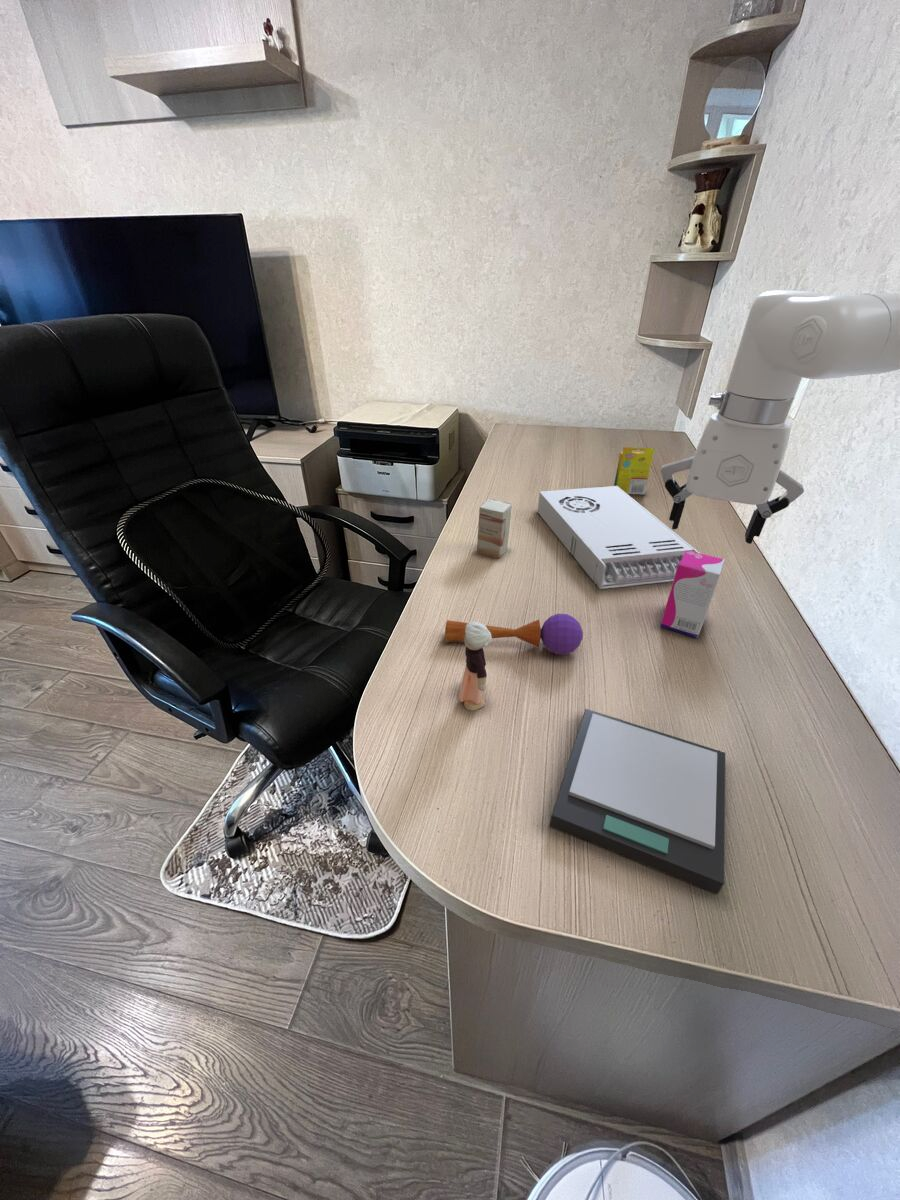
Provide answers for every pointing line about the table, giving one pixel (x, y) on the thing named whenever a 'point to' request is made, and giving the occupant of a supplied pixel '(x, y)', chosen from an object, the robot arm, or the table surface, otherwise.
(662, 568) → the power supply unit
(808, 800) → the table surface
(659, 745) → the scale
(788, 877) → the table surface
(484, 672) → the grandmother figurine
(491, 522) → the medicine carton
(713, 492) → the robot arm
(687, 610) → the supplement box
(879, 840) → the table surface
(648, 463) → the crayon box
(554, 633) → the kendama
